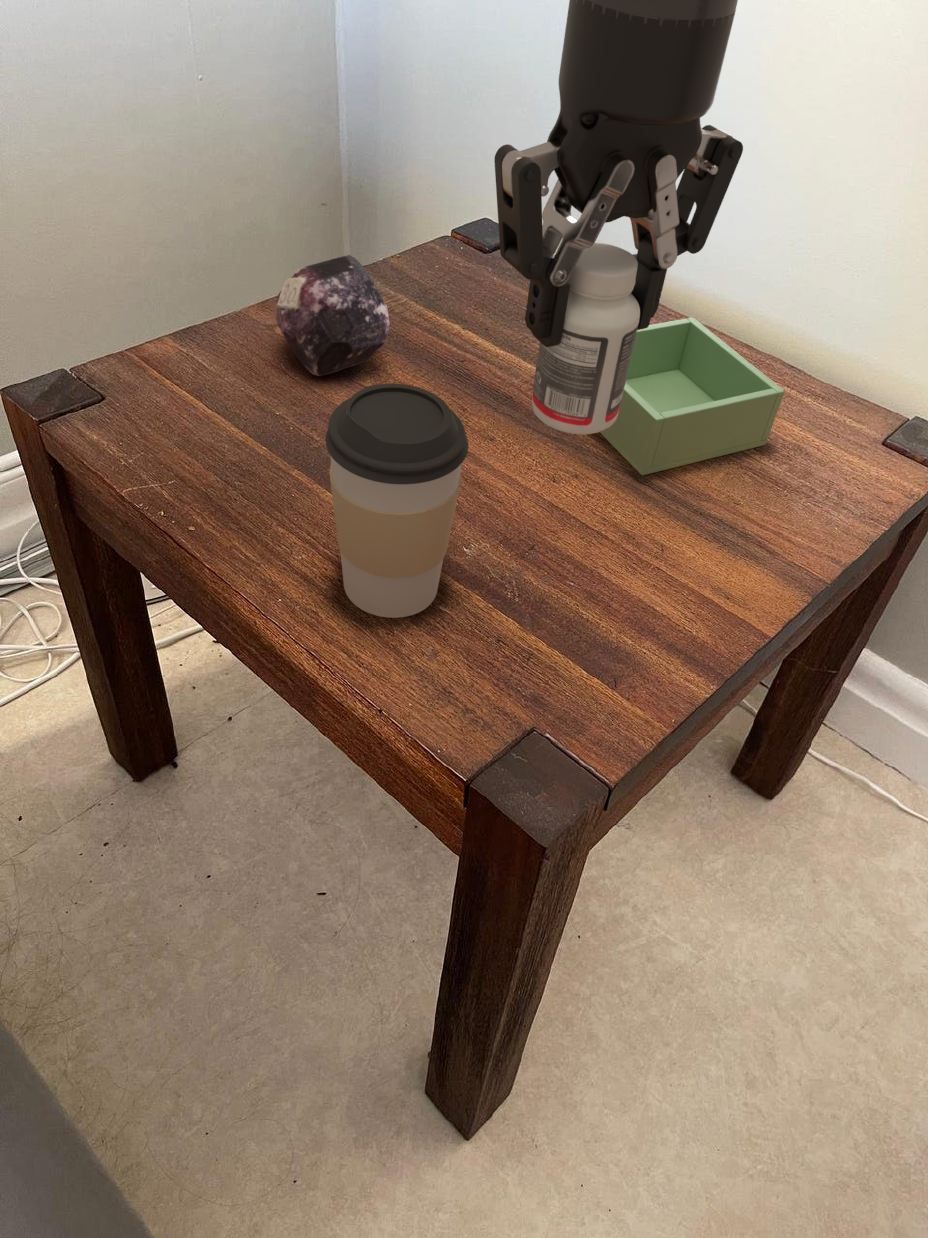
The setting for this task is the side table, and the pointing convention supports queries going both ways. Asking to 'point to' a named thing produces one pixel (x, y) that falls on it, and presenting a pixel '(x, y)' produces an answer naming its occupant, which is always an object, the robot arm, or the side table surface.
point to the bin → (689, 399)
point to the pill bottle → (590, 345)
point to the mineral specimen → (332, 315)
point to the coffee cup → (394, 494)
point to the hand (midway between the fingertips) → (589, 330)
